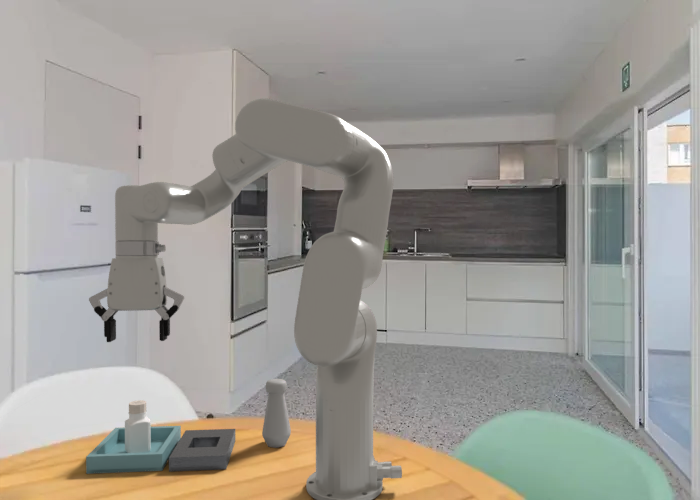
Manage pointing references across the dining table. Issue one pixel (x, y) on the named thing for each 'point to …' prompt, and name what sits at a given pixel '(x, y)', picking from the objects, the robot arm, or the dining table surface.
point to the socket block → (203, 450)
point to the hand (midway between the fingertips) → (137, 340)
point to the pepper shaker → (137, 428)
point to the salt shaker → (276, 415)
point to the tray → (116, 459)
